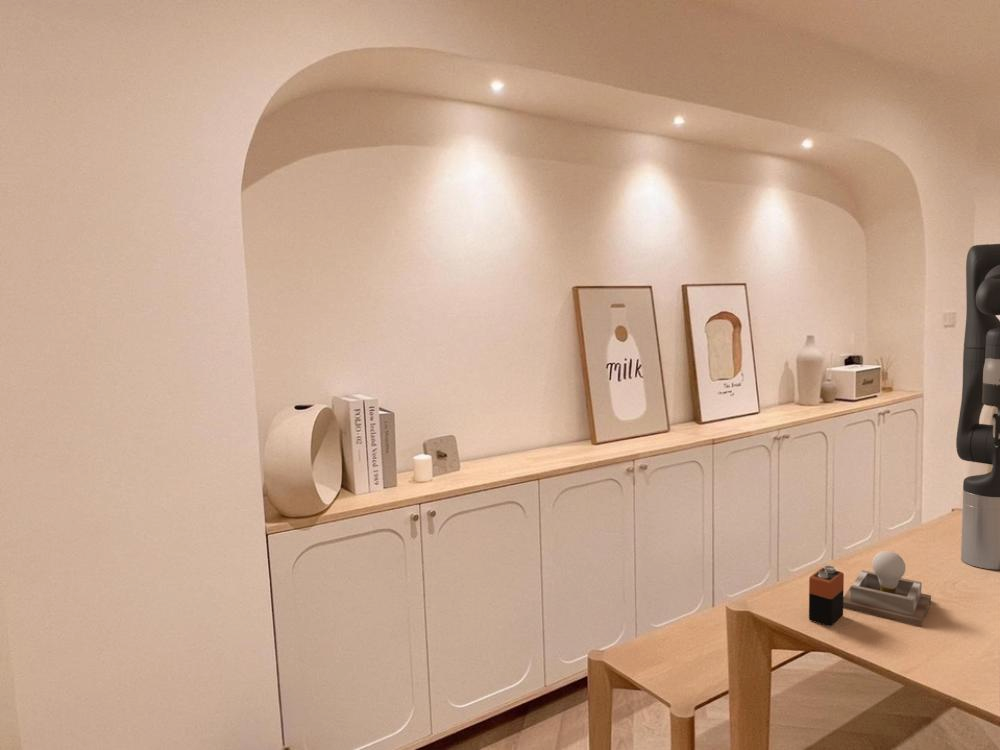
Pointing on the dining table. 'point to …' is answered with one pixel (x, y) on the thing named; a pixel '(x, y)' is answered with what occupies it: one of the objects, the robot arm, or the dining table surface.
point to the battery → (826, 595)
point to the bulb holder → (888, 599)
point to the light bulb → (888, 570)
